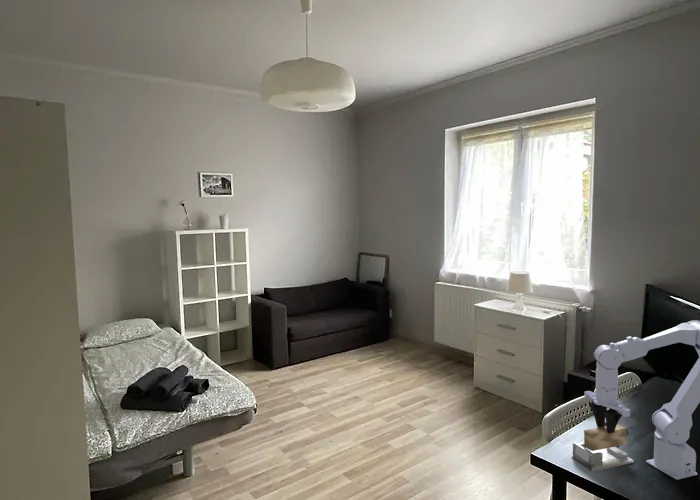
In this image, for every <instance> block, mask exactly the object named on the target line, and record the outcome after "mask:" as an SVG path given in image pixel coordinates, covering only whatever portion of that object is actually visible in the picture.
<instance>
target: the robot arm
mask: <svg viewBox="0 0 700 500" xmlns="http://www.w3.org/2000/svg"><path fill="white" fill-rule="evenodd" d="M678 343H682V344H685V345H689V346H693V347H694V348H695V351H696V352H697V355H698V359H697V360H696V362H695V363H694V365H693V367H692V368H691V369H690V371H689V373H688V375H687V376H686V378H685V379H684V381H683V382H682V384H681V385H680V387H679V388H678V390H677V391H676V393H675V395H674V396H673V398H672V399H671V401H670V402H668V403H663V405H662V407H660V409H657V410H656V411H655V412H653V414H652V416H651V422H652V424H653V425H654V426H655V431H654V436H653V437H654V440H653V441H654V442H653V458H651V459H647V460H646V461H645V462H646V463H647V464H648V465H651V466H652V467H653V468H655V469H657V470H659V471H660V472H663V473H664V474H666V475H668V476H670V477H671V478H673V479H675V480H681V479H686V478H689V477H693V476H697V475H698V472H696V471H697V470H696V467H697V465H696V464H697V453H696V450H695V449H694V448H693V447H691V446H690V445H689V444H688V443H687V441H688V440H689V439H690V435H691V434H690V431H691V428H692V427H693V418H692V414H693V413H694V411H696V408H697V407H698V405H699V404H700V320H697V319H694V320H690V321H687V322H682V323H680V324H677V325H676V326H674V327H672V328H671V327H670V328H668V329H665V330H662V331H660V332H657V333H655V334H652V335H650V336H646V337H644V338H640V337H637V336H634V337H632V336H631V335H630V336H627V337H626V339H624V340H621V341H617V342H615V343H614V342H610V343H609V344H600V345H599V346H598V347H597V348H595V351H593V357H594V358H595V360H596V369H595V392H594V391H591V390H587V391H584V399H589V400H591V402H590V403H588V407H589V408H590V410H591V412H592V413H593V417H594V420H595V424H596V428H599V427H604V425H605V422H606V429H607V433H614V431H615V428H616V425H617V424H618V423H619V421H620V419H621V418H622V417H624V418H628V417H630V416H631V409H629V408H628V407H626V406H625V405H623V404H622V403H620V401H618V395H619V393H618V391H619V390H618V389H619V372H618V371H619V370H618V368H619V367H620V366H621V364H622V363H625V362H628V361H632V360H635V359H639V358H641V357H645V356H646V355H647V354H648V352H649V351H651V350H653V349H659V348H662V347H666V346H670V345H673V344H678Z"/></svg>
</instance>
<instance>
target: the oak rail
mask: <svg viewBox="0 0 700 500" xmlns="http://www.w3.org/2000/svg"><path fill="white" fill-rule="evenodd" d="M627 429H628V428H627V427H625V426H623V425H622V424H618V423H617V425H616V428H615V431H614V433H607V429H606V426H605V427H599V428H598V427H595V428H587V429H585V430H583V436H584V437H583V440H584V441H583V442H584V447H586V449H587V450H589V451H596V450H601V449H606V448H611V447H616V446H618V447H620V446H625V445H627V444H628V443H627V441H628V440H627V436H628V434H627V433H628V432H627ZM616 448H617V447H616Z"/></svg>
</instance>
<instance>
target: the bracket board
mask: <svg viewBox="0 0 700 500" xmlns="http://www.w3.org/2000/svg"><path fill="white" fill-rule="evenodd" d="M571 458H572V459H573V460H574V461H576V462H577V463H579V464H581V465H582V467H585V468H586V469H588V470H589V471H591V472H592V473H594V472H599V471H603V470H606V469H607V470H608V469H611V468H616V467H621V466H624V465H629V464H633V463H634V459H632V458H631V457H629V454H628V453H627V452H625V451H624V450H622V449H619V448H618V447H611V448H606V449H601V450H596V451H591V450H590V449H588V448H586V447H584V441H583V442H576V441H573V442H572V454H571Z"/></svg>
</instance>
